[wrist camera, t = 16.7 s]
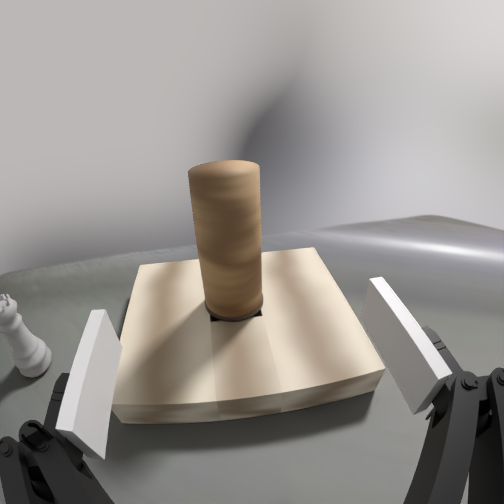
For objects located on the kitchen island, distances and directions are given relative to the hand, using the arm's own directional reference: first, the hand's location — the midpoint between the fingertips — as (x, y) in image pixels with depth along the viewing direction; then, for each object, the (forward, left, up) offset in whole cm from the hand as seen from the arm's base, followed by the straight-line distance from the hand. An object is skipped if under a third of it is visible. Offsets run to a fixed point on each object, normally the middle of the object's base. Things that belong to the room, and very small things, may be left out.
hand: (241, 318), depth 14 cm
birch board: (0, -9, -10) cm, 14 cm away
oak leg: (0, -10, -10) cm, 14 cm away
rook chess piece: (+21, -6, -11) cm, 24 cm away
